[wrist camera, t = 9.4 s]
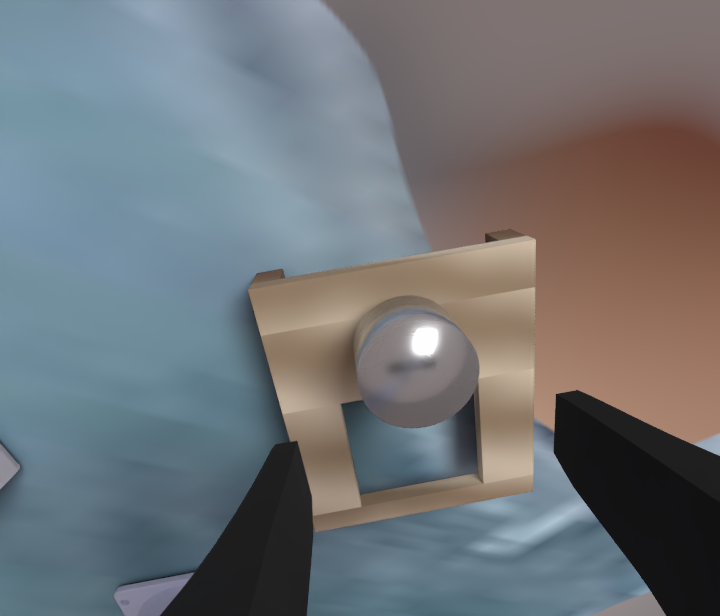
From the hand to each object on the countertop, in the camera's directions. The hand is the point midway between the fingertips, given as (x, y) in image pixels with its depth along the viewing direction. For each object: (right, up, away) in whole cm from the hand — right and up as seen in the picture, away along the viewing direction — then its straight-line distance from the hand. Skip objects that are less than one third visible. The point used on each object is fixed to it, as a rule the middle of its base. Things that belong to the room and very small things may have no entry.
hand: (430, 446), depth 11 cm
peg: (0, +4, +9) cm, 10 cm away
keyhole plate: (0, 0, +10) cm, 10 cm away
